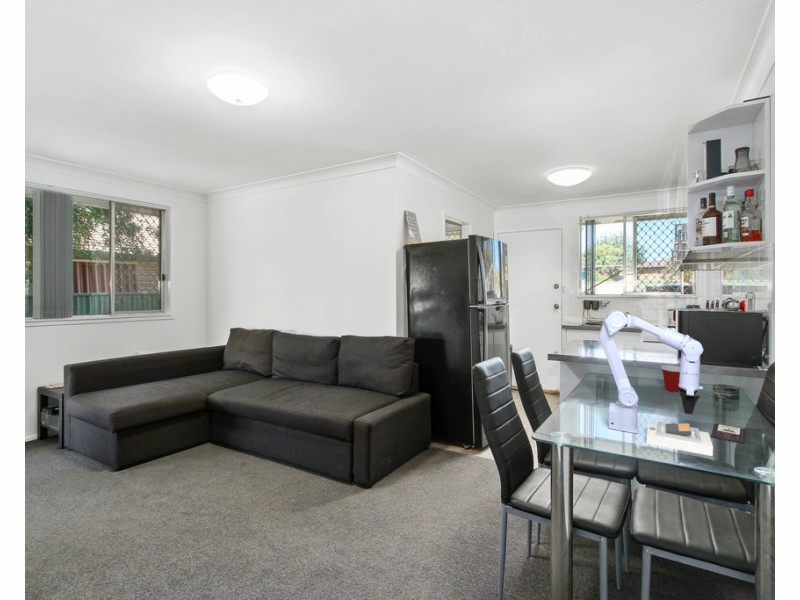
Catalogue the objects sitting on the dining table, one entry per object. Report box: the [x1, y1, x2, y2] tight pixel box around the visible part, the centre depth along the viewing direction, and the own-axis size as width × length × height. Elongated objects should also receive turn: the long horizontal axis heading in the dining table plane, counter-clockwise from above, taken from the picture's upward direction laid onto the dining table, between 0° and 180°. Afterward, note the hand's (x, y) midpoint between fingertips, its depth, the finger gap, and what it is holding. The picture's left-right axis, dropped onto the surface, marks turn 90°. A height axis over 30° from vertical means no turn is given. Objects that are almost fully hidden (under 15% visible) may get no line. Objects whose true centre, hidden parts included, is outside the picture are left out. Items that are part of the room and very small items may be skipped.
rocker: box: [666, 422, 692, 436], centre depth 143 cm, size 7×9×2 cm
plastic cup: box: [660, 364, 680, 393], centre depth 214 cm, size 11×11×12 cm
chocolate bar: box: [710, 423, 746, 445], centre depth 152 cm, size 9×1×18 cm
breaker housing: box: [645, 421, 714, 457], centre depth 143 cm, size 18×15×4 cm
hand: (687, 411), depth 148 cm, fingers open, 7 cm apart
